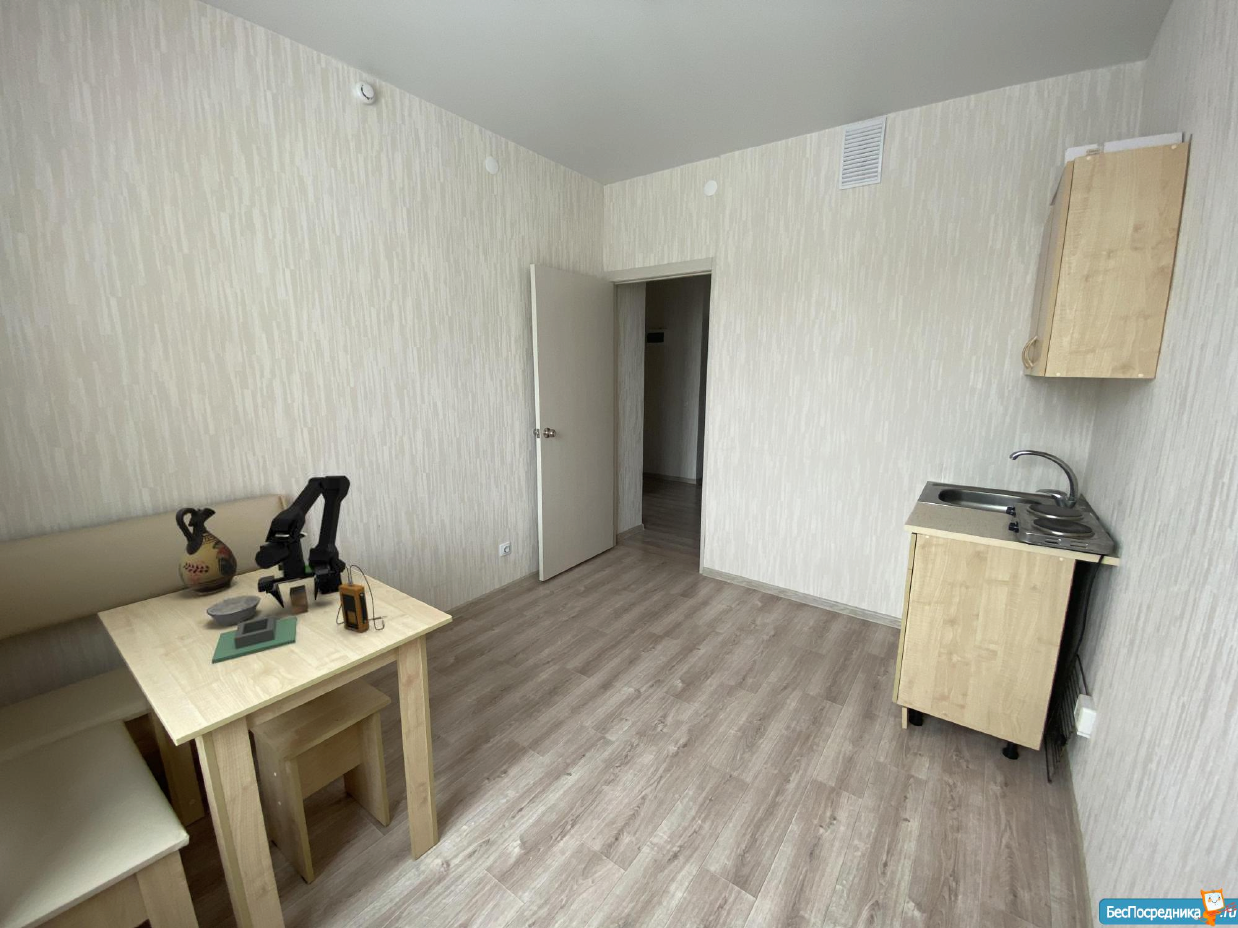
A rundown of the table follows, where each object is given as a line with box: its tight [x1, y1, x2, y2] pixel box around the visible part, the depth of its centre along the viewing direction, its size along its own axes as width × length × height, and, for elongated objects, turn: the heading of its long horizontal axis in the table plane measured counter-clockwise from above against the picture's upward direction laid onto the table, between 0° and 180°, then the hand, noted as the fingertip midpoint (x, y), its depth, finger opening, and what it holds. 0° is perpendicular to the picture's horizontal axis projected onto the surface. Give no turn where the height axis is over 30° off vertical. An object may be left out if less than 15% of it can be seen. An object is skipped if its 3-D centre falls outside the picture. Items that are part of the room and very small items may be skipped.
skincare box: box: [281, 531, 311, 583], centre depth 184 cm, size 8×7×16 cm
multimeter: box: [335, 562, 387, 633], centre depth 147 cm, size 15×10×20 cm
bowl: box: [206, 594, 261, 626], centre depth 154 cm, size 13×13×5 cm
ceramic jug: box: [175, 507, 238, 596], centre depth 173 cm, size 17×15×30 cm
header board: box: [211, 614, 297, 665], centre depth 141 cm, size 18×16×4 cm
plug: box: [288, 584, 309, 617], centre depth 158 cm, size 4×6×7 cm
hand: (299, 603), depth 158 cm, fingers open, 8 cm apart
